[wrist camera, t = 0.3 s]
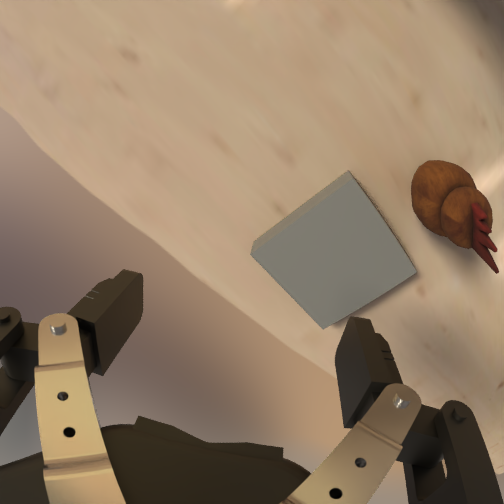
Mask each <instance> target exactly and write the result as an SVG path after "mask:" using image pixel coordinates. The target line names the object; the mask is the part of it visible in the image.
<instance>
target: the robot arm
mask: <svg viewBox="0 0 504 504" xmlns="http://www.w3.org/2000/svg"><path fill="white" fill-rule="evenodd" d="M142 313H143V275H142V274H141V273H137V272H133V271H129V270H125V269H123V270H122V271H121V272H120V273H119V274H118V275H117V276H116V277H115V278H114V279H110V278H109V279H107V280H104V281H102V282H100V283H98V284H97V285H96V286H95V287H94V288H93V289H92V290H91V291H90V292H89V293H88V294H86V297H83V298H82V299H81V300H80V301H79V302H78V303H77V304H76V305H75V306H74V307H73V308H72V309H71V310H70V311H69V312H68V313H67V314H61V313H59V314H53V315H50V316H47V317H46V318H44V319H43V320H42V321H41V322H40V324H35V323H27V322H22V318H21V314H20V312H19V311H18V310H17V309H15V308H13V307H2V308H0V360H1V363H2V365H3V366H2V367H1V368H0V436H1V434H2V432H3V431H4V429H5V428H6V426H7V424H8V423H9V421H10V420H11V418H12V417H13V415H14V414H15V412H16V410H17V409H18V407H19V406H20V405H21V403H22V402H23V400H24V399H25V397H26V396H27V394H28V393H29V392H30V390H31V389H32V387H33V386H34V384H35V391H36V404H37V415H38V424H39V432H40V439H41V446H42V452H39V453H36V454H34V455H31V456H29V457H25V458H23V459H20V460H17V461H14V462H11V463H8V464H5V465H2V466H0V504H367V503H368V501H369V500H370V499H371V497H372V496H373V494H374V493H375V491H376V490H377V488H378V487H379V485H380V484H381V482H382V481H383V479H384V478H385V476H386V475H387V473H388V472H389V470H390V468H391V467H392V465H393V463H394V462H395V460H396V461H400V462H403V466H404V473H405V480H406V487H407V494H408V502H409V504H504V503H503V499H502V496H501V492H500V489H499V485H498V482H497V479H496V475H495V472H494V469H493V466H492V463H491V460H490V457H489V454H488V451H487V448H486V445H485V442H484V440H483V437H482V434H481V432H480V429H479V426H478V424H477V421H476V419H475V416H474V414H473V412H472V411H471V409H470V408H469V407H468V406H467V405H465V404H464V403H462V402H460V401H456V400H451V401H447V402H446V403H445V404H444V405H443V406H442V408H441V409H436V408H433V407H429V406H426V405H423V404H421V399H420V397H419V395H418V394H417V393H416V392H415V391H414V390H413V389H412V388H410V387H408V386H406V385H404V384H403V382H402V379H401V376H400V374H399V371H398V368H397V365H396V363H395V361H394V357H393V355H392V353H391V350H390V347H389V344H388V342H387V341H386V340H385V339H384V338H383V337H382V335H381V334H379V333H375V331H374V328H373V326H372V323H371V320H370V319H365V318H359V317H350V318H349V320H348V322H347V325H346V327H345V330H344V332H343V335H342V337H341V340H340V342H339V345H338V347H337V350H336V355H335V367H336V373H337V380H338V386H339V393H340V401H341V408H342V416H343V424H344V428H352V429H351V430H350V432H349V433H348V434H347V435H346V437H345V438H344V439H343V440H342V441H341V443H339V445H338V446H337V447H336V448H335V449H334V450H333V451H332V452H331V454H330V455H329V456H328V457H327V458H326V459H325V460H324V461H323V462H322V463H321V464H320V466H319V467H318V468H317V469H316V470H315V471H314V472H313V473H312V474H311V473H310V472H309V471H307V470H306V469H304V468H303V467H302V466H300V465H298V464H296V463H294V462H292V461H290V460H288V459H285V458H283V448H280V447H274V446H266V445H259V444H254V443H247V442H245V443H208V442H205V441H203V440H200V439H198V438H196V437H194V436H192V435H190V434H188V433H186V432H184V431H182V430H180V429H178V428H176V427H174V426H171V425H168V424H164V423H161V422H157V421H154V420H151V419H148V418H144V417H141V416H138V418H137V420H136V423H135V424H134V425H132V424H118V425H110V426H106V427H102V428H101V426H100V422H99V418H98V415H97V411H96V407H95V403H94V400H93V395H92V391H91V387H90V383H89V376H90V375H91V373H92V372H93V373H96V374H99V375H101V376H103V375H104V374H105V372H106V370H107V369H108V368H109V366H110V364H111V363H112V362H113V360H114V359H115V357H116V356H117V354H118V353H119V351H120V350H121V348H122V347H123V345H124V344H125V342H126V341H127V339H128V338H129V336H130V335H131V334H132V332H133V331H134V329H135V328H136V326H137V325H138V323H139V322H140V320H141V317H142ZM443 459H444V460H445V464H446V468H447V477H446V478H445V473H444V469H443V465H442V460H443Z"/></svg>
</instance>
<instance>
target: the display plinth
mask: <svg viewBox="0 0 504 504" xmlns="http://www.w3.org/2000/svg"><path fill="white" fill-rule="evenodd" d="M250 255H251V256H252V257H253V258H254V259H255V260H256V261H257V262H258V263H259V264H260V265H261V266H262V267H263V268H264V269H265V270H266V271H267V272H268V273H269V274H270V275H271V276H272V277H273V278H274V280H275V281H276V282H277V283H278V284H279V285H280V286H281V287H282V288H283V289H284V290H285V291H286V292H287V293H288V294H289V295H290V296H291V297H292V298H293V299H294V300H295V301H296V302H297V303H298V304H299V305H300V306H301V307H302V308H303V309H304V310H305V311H306V312H307V314H308V315H309V316H310V317H311V318H312V319H313V320H314V321H315V322H316V323H317V324H318V325H319V326H320V327H321V328H322V329H325V328H327V327H328V326H330V325H332V324H334V323H336V322H337V321H339V320H341V319H342V318H344V317H346V316H348V315H349V314H351V313H353V312H354V311H356V310H358V309H359V308H361V307H363V306H364V305H366V304H368V303H369V302H371V301H373V300H374V299H376V298H378V297H379V296H381V295H382V294H384V293H386V292H387V291H389V290H390V289H392V288H393V287H395V286H397V285H398V284H400V283H401V282H403V281H404V280H406V279H407V278H409V277H410V276H412V275H413V274H415V273H416V272H417V271H416V269H415V268H414V266H413V264H412V262H411V260H410V259H409V257H408V255H407V254H406V252H405V251H404V249H403V247H402V246H401V244H400V243H399V241H398V240H397V238H396V237H395V235H394V234H393V232H392V231H391V229H390V228H389V226H388V225H387V223H386V222H385V220H384V219H383V217H382V216H381V214H380V213H379V211H378V210H377V209H376V207H375V206H374V204H373V203H372V201H371V200H370V199H369V197H368V196H367V194H366V193H365V192H364V190H363V189H362V188H361V186H360V185H359V184H358V182H357V181H356V180H355V178H354V177H353V176H352V174H351V173H350V172H349V170H348V171H347V172H346V173H344V174H343V175H342V176H340V177H339V178H338V179H336V180H335V181H334V182H332V183H331V184H330V185H328V186H327V187H326V188H324V189H323V190H322V191H320V192H319V193H318V194H316V195H315V196H314V197H312V198H311V199H310V200H308V201H307V202H306V203H304V204H303V205H302V206H300V207H299V208H298V209H296V210H295V211H294V212H292V213H291V214H290V215H288V216H287V217H286V218H284V219H283V220H282V221H280V222H279V223H278V224H276V225H275V226H274V227H272V228H271V229H270V230H268V231H267V232H266V233H264V234H263V235H262V236H260V237H259V238H258V239H257V240H255V241H254V243H253V246H252V250H251V253H250Z"/></svg>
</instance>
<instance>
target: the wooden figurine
mask: <svg viewBox="0 0 504 504" xmlns="http://www.w3.org/2000/svg"><path fill="white" fill-rule="evenodd" d="M411 195H412V207H413V210H414V212H415V214H416V215H417V217H418V218H419V220H420V221H421V222H422V224H423V225H424V226H425V227H426V228H427V229H429V230H431V231H432V232H434V233H436V234H438V235H440V236H445V237H448V238H449V239H450V240H451V241H452V242H453V243H455V244H456V245H457V246H460V247H463V248H468V249H469V248H473V249H474V250H475V251H476V252H477V254H478V255H479V256H480V257H481V258H482V259H483V260H484V261H485V262H486V263H487V264H488V265H489V266H490V267H491V269H492V270H493V271H494V272H495V273H496V274H497V273H499V270H498V268H497V266H496V264H495V262H494V260H493V258H492V256H491V254H490V252H489V250H488V248H489V249H490V250H492V251H494V252H497V248H496V246H495V245H494V243H493V242H492V240H491V239H490V237H489V236H488V234H489V233H491V232H492V230H491V228H492V222H493V219H492V209H491V206H490V204H489V202H488V200H487V198H486V197H485V196H484V195H483V194H482V193H481V192H480V191H479V190H477V188H476V186H475V183H474V181H473V179H472V177H471V175H470V174H469V173H468V172H466V171H465V170H464V169H463V168H461V167H460V166H458V165H456V164H453V163H449V162H445V161H440V160H434V161H427V162H425V163H424V164H422V165H421V166H420V167H419V168H418V169H417V171H416V173H415V174H414V177H413V180H412V186H411Z"/></svg>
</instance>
